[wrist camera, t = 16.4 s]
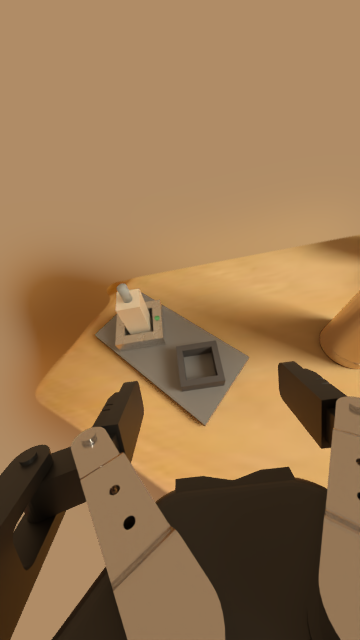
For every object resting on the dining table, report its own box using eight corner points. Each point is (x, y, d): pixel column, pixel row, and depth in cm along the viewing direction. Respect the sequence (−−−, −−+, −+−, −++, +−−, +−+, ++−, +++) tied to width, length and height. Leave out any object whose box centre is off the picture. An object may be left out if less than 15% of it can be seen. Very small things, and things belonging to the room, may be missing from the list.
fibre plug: (133, 322, 45) (110, 280, 34) (151, 319, 45) (134, 276, 34) (133, 338, 43) (108, 299, 32) (152, 335, 43) (134, 295, 32)
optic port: (122, 314, 46) (117, 305, 44) (162, 308, 46) (159, 299, 43) (120, 351, 41) (114, 344, 39) (165, 344, 41) (162, 337, 38)
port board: (141, 295, 51) (140, 291, 49) (247, 360, 39) (249, 357, 38) (97, 338, 45) (94, 334, 44) (205, 426, 34) (205, 425, 33)
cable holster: (177, 353, 40) (175, 346, 37) (215, 347, 40) (215, 340, 37) (182, 391, 36) (180, 387, 34) (224, 385, 36) (225, 380, 33)
